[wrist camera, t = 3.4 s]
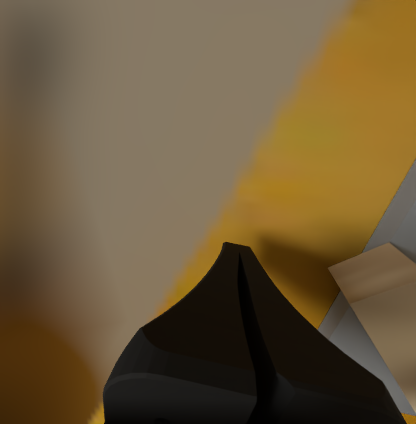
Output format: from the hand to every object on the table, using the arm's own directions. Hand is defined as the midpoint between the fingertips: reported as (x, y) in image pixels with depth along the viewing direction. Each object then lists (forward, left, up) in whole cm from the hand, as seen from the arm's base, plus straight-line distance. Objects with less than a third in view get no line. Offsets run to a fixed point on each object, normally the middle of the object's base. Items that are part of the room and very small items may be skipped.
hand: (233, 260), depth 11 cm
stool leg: (-4, -12, -1) cm, 13 cm away
